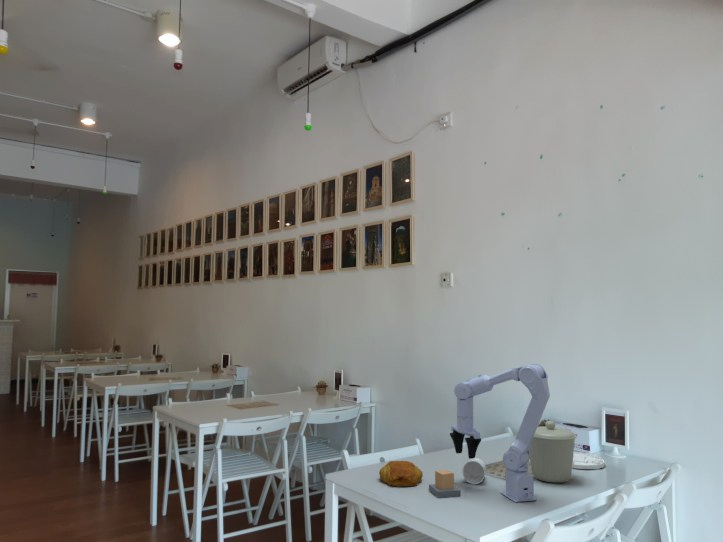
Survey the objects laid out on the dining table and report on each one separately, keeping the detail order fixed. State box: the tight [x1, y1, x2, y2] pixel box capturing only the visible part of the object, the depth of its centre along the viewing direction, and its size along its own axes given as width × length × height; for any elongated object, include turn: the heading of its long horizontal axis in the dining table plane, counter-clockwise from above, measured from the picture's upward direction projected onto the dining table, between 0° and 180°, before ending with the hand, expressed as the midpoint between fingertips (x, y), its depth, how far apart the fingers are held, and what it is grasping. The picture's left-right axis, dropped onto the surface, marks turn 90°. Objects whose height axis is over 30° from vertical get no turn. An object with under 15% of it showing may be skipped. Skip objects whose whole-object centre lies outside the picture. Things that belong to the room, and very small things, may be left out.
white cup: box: [461, 457, 487, 485], centre depth 198 cm, size 8×8×10 cm
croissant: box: [378, 460, 424, 487], centre depth 195 cm, size 14×16×8 cm
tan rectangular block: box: [434, 469, 455, 490], centre depth 182 cm, size 4×4×5 cm
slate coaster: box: [428, 483, 462, 499], centre depth 182 cm, size 8×8×2 cm
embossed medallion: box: [572, 451, 606, 471], centre depth 222 cm, size 20×20×3 cm
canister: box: [529, 420, 577, 484], centre depth 201 cm, size 18×18×21 cm
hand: (465, 455), depth 191 cm, fingers open, 7 cm apart
